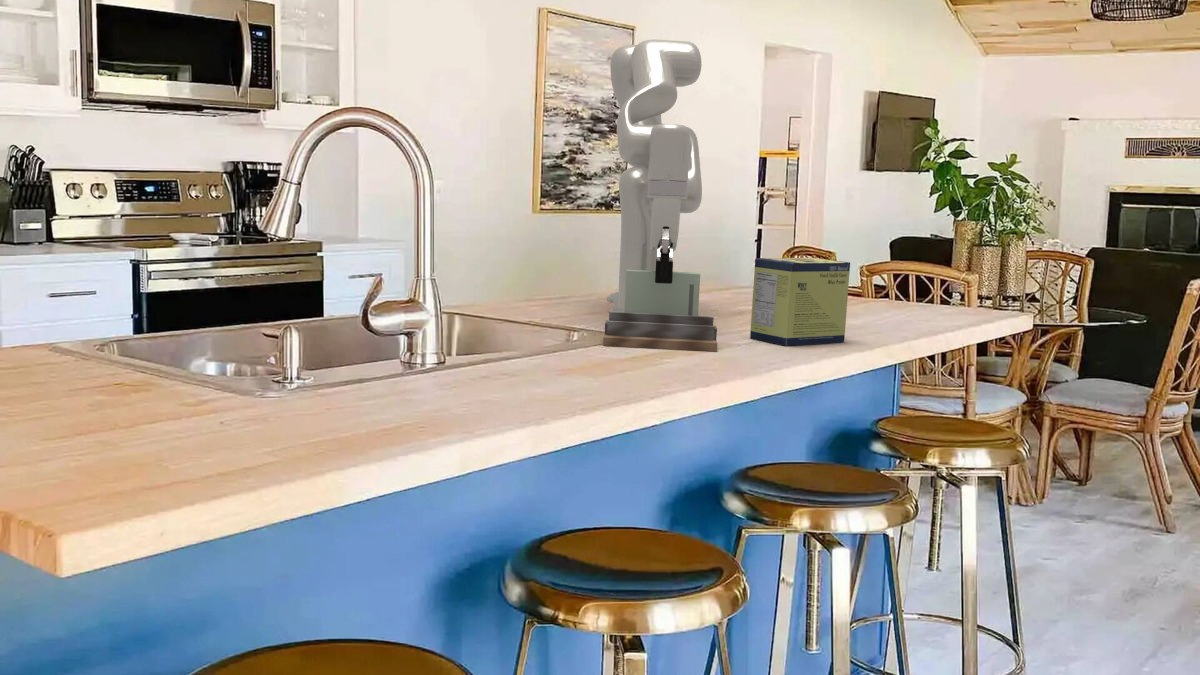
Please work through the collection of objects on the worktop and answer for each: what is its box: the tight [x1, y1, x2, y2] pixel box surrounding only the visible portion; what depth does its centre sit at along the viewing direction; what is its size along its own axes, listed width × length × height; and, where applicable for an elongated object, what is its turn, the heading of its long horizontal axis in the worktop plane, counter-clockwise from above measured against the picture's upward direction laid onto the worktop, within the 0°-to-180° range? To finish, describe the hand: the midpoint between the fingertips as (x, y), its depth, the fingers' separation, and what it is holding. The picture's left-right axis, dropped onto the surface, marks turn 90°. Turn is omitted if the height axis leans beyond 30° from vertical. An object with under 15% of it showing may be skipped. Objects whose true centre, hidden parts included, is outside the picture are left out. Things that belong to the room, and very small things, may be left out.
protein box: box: [749, 257, 851, 347], centre depth 224 cm, size 10×16×16 cm
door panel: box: [624, 269, 701, 316], centre depth 225 cm, size 14×3×12 cm, turn 87°
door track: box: [602, 311, 718, 353], centre depth 213 cm, size 20×12×5 cm, turn 87°
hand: (663, 281), depth 224 cm, fingers open, 9 cm apart
